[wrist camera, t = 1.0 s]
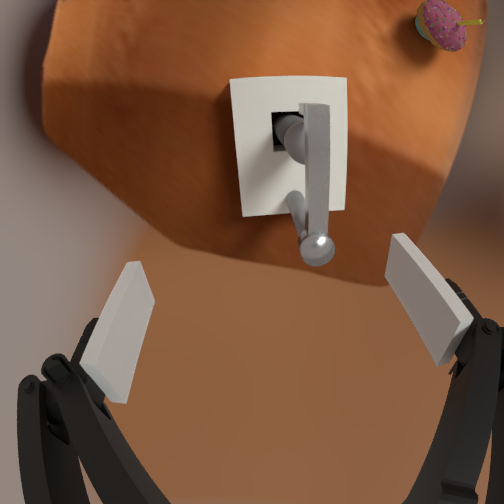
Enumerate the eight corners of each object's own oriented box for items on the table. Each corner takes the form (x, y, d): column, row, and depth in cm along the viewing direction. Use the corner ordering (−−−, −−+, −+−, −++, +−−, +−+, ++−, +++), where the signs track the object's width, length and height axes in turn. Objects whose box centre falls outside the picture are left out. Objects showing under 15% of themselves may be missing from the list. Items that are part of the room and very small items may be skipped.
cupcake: (433, 2, 23) (481, -8, 13) (453, 48, 27) (504, 49, 17) (395, 7, 25) (442, -9, 14) (418, 56, 29) (470, 56, 19)
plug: (271, 112, 34) (285, 122, 24) (302, 111, 34) (329, 122, 24) (273, 142, 37) (287, 166, 26) (303, 141, 37) (329, 164, 26)
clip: (290, 103, 22) (299, 105, 19) (325, 103, 22) (340, 105, 19) (294, 245, 30) (301, 267, 27) (323, 243, 30) (333, 264, 27)
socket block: (230, 80, 32) (224, 73, 19) (336, 78, 32) (387, 76, 19) (242, 205, 41) (243, 262, 29) (335, 198, 41) (374, 251, 29)
